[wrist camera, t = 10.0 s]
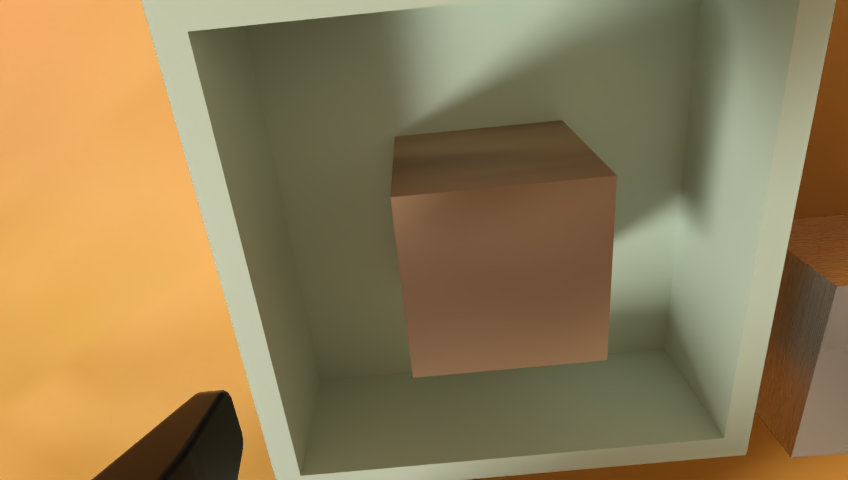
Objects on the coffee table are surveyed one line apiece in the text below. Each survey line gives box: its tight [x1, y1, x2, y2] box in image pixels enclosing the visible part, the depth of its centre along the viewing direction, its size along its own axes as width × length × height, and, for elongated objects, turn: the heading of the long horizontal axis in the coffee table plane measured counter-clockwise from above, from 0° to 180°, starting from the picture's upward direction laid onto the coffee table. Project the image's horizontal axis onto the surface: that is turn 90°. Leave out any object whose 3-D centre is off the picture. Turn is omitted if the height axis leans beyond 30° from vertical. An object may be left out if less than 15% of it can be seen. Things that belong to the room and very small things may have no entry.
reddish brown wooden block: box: [755, 215, 848, 458], centre depth 15 cm, size 5×4×4 cm
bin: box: [141, 0, 836, 480], centre depth 13 cm, size 11×11×4 cm
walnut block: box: [390, 120, 617, 378], centre depth 13 cm, size 4×4×4 cm
